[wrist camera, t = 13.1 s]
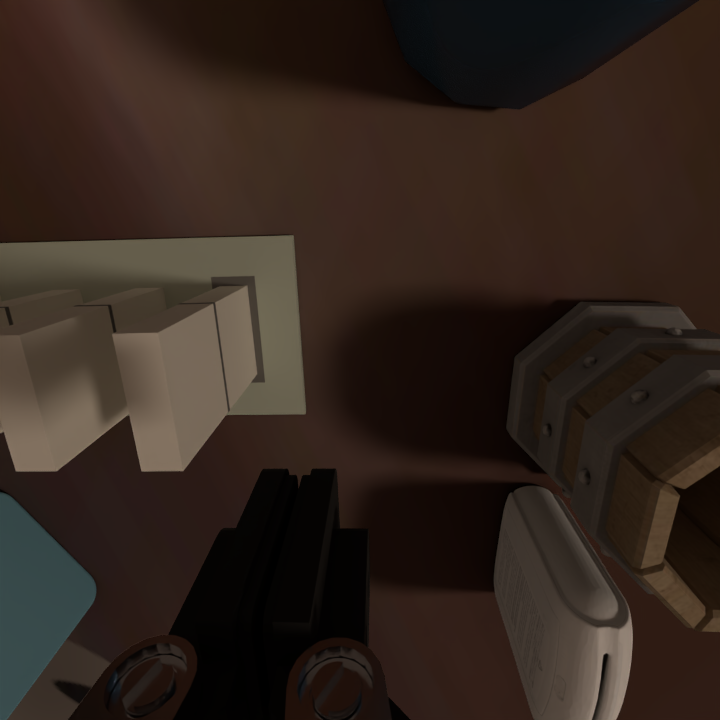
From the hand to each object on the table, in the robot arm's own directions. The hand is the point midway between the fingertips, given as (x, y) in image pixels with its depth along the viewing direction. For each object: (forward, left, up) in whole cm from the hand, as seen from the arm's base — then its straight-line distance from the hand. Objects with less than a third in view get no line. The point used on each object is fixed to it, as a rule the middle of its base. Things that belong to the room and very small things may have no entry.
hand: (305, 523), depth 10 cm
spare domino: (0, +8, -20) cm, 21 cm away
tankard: (-5, -20, -20) cm, 29 cm away
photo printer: (-17, -12, -20) cm, 29 cm away
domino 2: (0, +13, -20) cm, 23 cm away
